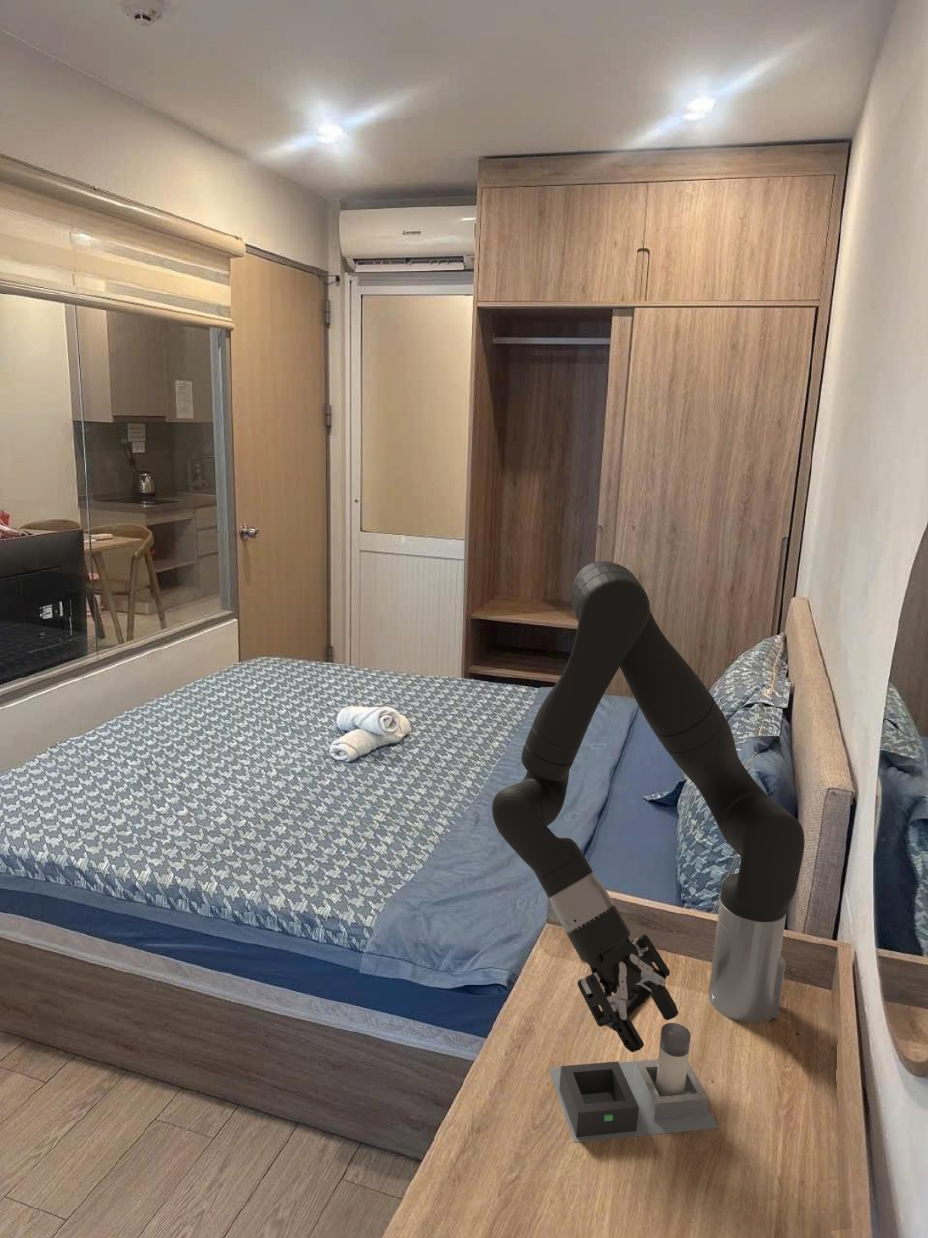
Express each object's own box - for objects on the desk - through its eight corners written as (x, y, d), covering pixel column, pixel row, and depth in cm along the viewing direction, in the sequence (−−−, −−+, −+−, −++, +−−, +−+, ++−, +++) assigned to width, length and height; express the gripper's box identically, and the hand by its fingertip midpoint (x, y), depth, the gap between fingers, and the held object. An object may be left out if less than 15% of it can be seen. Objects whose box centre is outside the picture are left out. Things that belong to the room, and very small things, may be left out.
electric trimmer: (665, 990, 134) (667, 972, 133) (615, 1041, 122) (617, 1021, 121) (643, 979, 136) (645, 961, 135) (592, 1028, 124) (594, 1009, 123)
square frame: (684, 1074, 114) (685, 1058, 114) (706, 1115, 108) (708, 1098, 107) (633, 1078, 113) (635, 1062, 113) (653, 1120, 107) (655, 1103, 106)
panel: (679, 1063, 118) (679, 1057, 117) (718, 1134, 106) (719, 1128, 106) (548, 1075, 115) (548, 1068, 114) (573, 1149, 103) (574, 1142, 103)
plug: (676, 1084, 113) (683, 1021, 110) (688, 1106, 109) (695, 1041, 107) (650, 1087, 112) (656, 1024, 110) (661, 1109, 108) (667, 1044, 106)
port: (615, 1084, 112) (617, 1061, 111) (637, 1133, 105) (639, 1109, 104) (559, 1089, 111) (561, 1066, 110) (576, 1139, 103) (578, 1115, 103)
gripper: (575, 928, 108) (646, 1054, 103) (636, 886, 118) (703, 999, 113) (539, 947, 113) (605, 1068, 108) (600, 905, 123) (664, 1015, 118)
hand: (655, 1033), depth 110 cm, fingers open, 8 cm apart
